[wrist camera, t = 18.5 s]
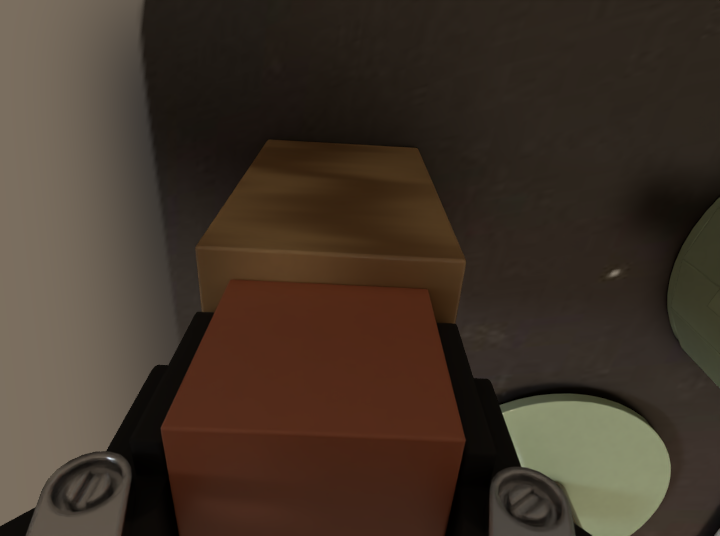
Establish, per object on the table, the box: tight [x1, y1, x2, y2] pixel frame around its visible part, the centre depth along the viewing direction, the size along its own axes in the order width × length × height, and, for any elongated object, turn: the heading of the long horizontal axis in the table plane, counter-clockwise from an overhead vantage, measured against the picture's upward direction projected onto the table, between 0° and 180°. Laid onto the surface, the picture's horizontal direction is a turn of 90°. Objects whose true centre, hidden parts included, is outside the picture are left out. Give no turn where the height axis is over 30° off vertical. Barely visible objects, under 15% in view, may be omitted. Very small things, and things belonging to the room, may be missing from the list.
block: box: [161, 279, 466, 536], centre depth 10 cm, size 4×4×4 cm
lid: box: [499, 393, 671, 536], centre depth 26 cm, size 14×14×5 cm
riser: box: [195, 139, 466, 324], centre depth 17 cm, size 6×6×10 cm
